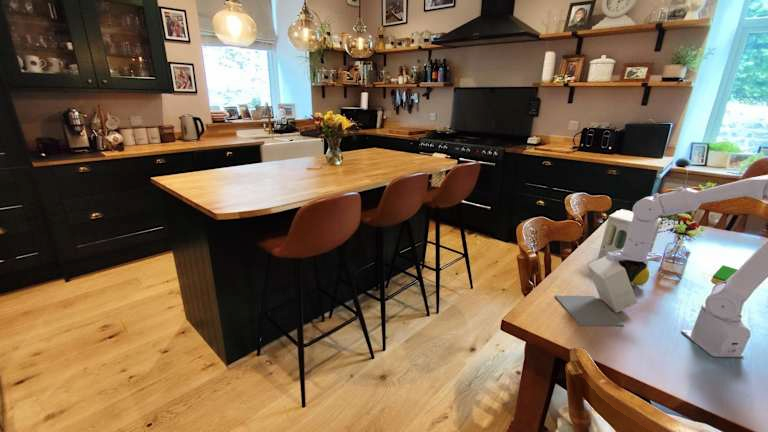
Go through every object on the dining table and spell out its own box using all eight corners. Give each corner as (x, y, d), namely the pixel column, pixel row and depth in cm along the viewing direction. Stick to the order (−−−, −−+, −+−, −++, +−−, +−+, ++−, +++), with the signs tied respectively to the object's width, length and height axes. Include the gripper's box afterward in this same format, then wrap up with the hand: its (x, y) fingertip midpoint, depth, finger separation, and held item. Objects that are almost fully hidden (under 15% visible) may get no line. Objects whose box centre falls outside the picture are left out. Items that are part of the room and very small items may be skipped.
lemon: (648, 291, 113) (655, 269, 110) (629, 289, 114) (636, 266, 111) (640, 282, 118) (647, 261, 115) (621, 280, 119) (628, 259, 116)
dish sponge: (747, 279, 124) (750, 273, 123) (738, 291, 116) (741, 284, 115) (720, 270, 129) (723, 264, 128) (710, 281, 121) (712, 275, 120)
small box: (638, 303, 100) (625, 268, 96) (616, 313, 101) (603, 279, 97) (619, 287, 108) (606, 254, 103) (599, 297, 109) (586, 264, 104)
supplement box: (596, 258, 134) (607, 215, 128) (609, 250, 142) (621, 208, 136) (636, 273, 124) (651, 226, 118) (648, 262, 132) (663, 218, 126)
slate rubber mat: (623, 326, 96) (624, 325, 95) (580, 325, 95) (580, 324, 95) (593, 297, 109) (593, 296, 109) (554, 296, 108) (555, 295, 108)
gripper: (653, 234, 102) (640, 276, 107) (604, 233, 101) (593, 275, 106) (673, 244, 95) (658, 288, 100) (620, 243, 95) (607, 288, 99)
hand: (625, 283), depth 103 cm, fingers closed
